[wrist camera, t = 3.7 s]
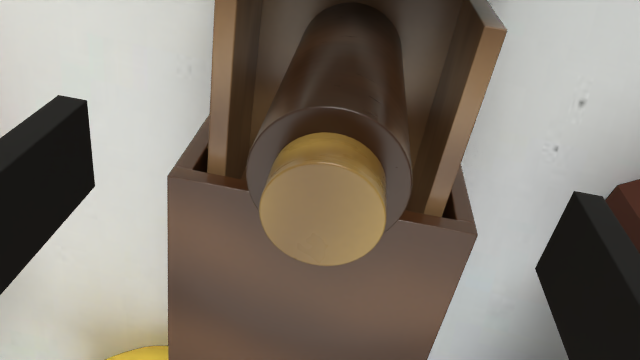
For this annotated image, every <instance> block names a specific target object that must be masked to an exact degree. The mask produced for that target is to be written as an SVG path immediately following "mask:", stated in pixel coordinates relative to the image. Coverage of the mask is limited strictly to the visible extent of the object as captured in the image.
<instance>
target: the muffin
mask: <svg viewBox="0 0 640 360" xmlns="http://www.w3.org/2000/svg"><path fill="white" fill-rule="evenodd" d="M605 201H606V203H607V204H608V206H609V207H610V209H611V210H612V212H613V213H614V215H615V216H616V218H617V219H618V221H619V223H620V224H621V226H622V227H623V229H624V230H625V232H626V233H627V235H628V236H629V238H630V240H631V241H632V243H633V244H634V246H635V247H636V249H637V250H638V252H639V253H640V179H639V180H635V181H631V182H628V183H624V184H620V185H617V187H616V188H615V189H614V190H613V192H612V193H611V194H610V195H609V197H608V198H607V199H606V200H605Z"/></svg>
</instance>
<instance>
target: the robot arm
mask: <svg viewBox="0 0 640 360" xmlns="http://www.w3.org/2000/svg"><path fill="white" fill-rule="evenodd" d="M94 187H95V182H94V171H93V161H92V150H91V139H90V128H89V118H88V107H87V100H82V99H76V98H71V97H65V96H60V95H58V96H57V97H55V98H54V99H53V100H51V101H50V102H49V103H47V104H46V105H45V106H43V107H42V108H41V109H39V110H38V111H37V112H35V113H34V114H32V115H31V116H30V117H28V118H27V119H26V120H24V121H23V122H22V123H20V124H19V125H18V126H16V127H15V128H14V129H12V130H11V131H9V132H8V133H7V134H5V135H4V136H3V137H1V138H0V295H1V294H2V293H3V291H4V290H5V289H6V288H7V287H8V286H9V284H10V283H11V282H12V281H13V280H14V279H15V278H16V276H17V275H18V274H19V273H20V272H21V271H22V270H23V268H24V267H25V266H26V265H27V264H28V263H29V261H30V260H31V259H32V258H33V257H34V256H35V255H36V253H37V252H38V251H39V250H40V249H41V248H42V247H43V245H44V244H45V243H46V242H47V241H48V240H49V238H50V237H51V236H52V235H53V234H54V233H55V232H56V230H57V229H58V228H59V227H60V226H61V225H62V224H63V222H64V221H65V220H66V219H67V218H68V217H69V215H70V214H71V213H72V212H73V211H74V210H75V209H76V207H77V206H78V205H79V204H80V203H81V202H82V201H83V199H84V198H85V197H86V196H87V195H88V194H89V192H90V191H91V190H92V189H93V188H94ZM535 269H536V272H537V275H538V277H539V280H540V283H541V286H542V288H543V291H544V294H545V296H546V299H547V302H548V304H549V307H550V310H551V312H552V315H553V318H554V320H555V323H556V326H557V329H558V331H559V334H560V337H561V339H562V342H563V345H564V347H565V350H566V353H567V355H568V358H569V360H640V253H639V252H638V250H637V249H636V247H635V246H634V244H633V243H632V241H631V240H630V238H629V236H628V235H627V233H626V232H625V230H624V229H623V227H622V226H621V224H620V223H619V221H618V219H617V218H616V216H615V215H614V213H613V212H612V210H611V209H610V207H609V206H608V204H607V203H606V201H605V199H604V198H603V197H602V196H597V195H592V194H586V193H581V192H576V191H574V192H573V194H572V196H571V198H570V200H569V202H568V204H567V206H566V208H565V210H564V212H563V214H562V216H561V218H560V220H559V222H558V224H557V226H556V228H555V230H554V232H553V234H552V236H551V238H550V240H549V242H548V244H547V246H546V248H545V250H544V252H543V254H542V256H541V258H540V260H539V262H538V264H537V266H536V268H535Z"/></svg>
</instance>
